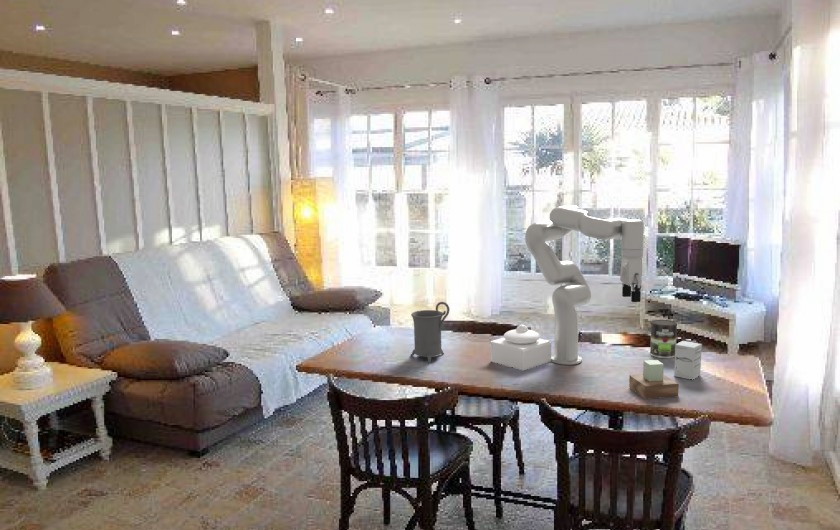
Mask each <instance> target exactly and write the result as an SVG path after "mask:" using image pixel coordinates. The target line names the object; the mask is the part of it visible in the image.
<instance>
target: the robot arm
mask: <svg viewBox="0 0 840 530" xmlns="http://www.w3.org/2000/svg"><path fill="white" fill-rule="evenodd" d="M644 225H645V224H644V222H643V220H641V219H633V218H632V219H627V218H623V217H615V218H613V217H611V218H605V219H603V218H599V217H598V218H597V217H593V216H592V214H591V212H589V211H588V210H583V209H581V208H580V207H579V206H577V205H574V204H573V205H572V204H571V205H568V204H567V205H560V206H556V207H554V208H553V209H552V210H551V211H550V213H549V220H542V221H536V222H533V223H531V224H530V225H529V226H528V227H527V228H526V231H525V233H524V234H525V235H524V236H525V237H524V240H525V245H526V247H527V249H528V251H529V253H530V254H531V255H532V257H533V258H534V260H535V262H536V264H537V267H539V270H540V272H541V274H542V275H543V277H544V279H545V281H546V282H547V284H549V285H550V286H558V287H557V288H555V289H554V291H553V293H552V296H551V300H552V306H553V311H554V312H553V314H554V315H553V316H554V317H553V318H554V347H553V348H554V349H553V350H554V352H553V353H554V354H553V355H551V362H552V363H555V364H558V365H562V366H569V365H570V366H573V365H579V364H580V363H582V362H583V359H582V356H579V315H578V314H577V311H576V308H577V307H581V306H585V305H587V304H588V303H589V302H590V300H592V299H591V298H592V292H591V291H592V290H591V289H590V286H589V285H588V283H587V280H586V278H585V277H584V275H583V273H582V272H581V269H580V268H579V267H578V266H577V264H576V263H575V262H574V261H570V260H560V259H559V258H558V256H557V255H556V253H555V251H554V249H553V248H552V247H551V246H550V245H549V244H547V242H549V241H550V242H551V241H552V242H553V241H558V240H561V239H562V238H564V237H565V236H566V235H567V234H569V233H570V232H571V231H574V232H580V233H581V234H582V235H584V236H586V237H590V238H594V239H597V240H603V241H606V240H612V239H613V240H614V239H621V254H620V255H621V257H620V258H621V263H620V278H619V279H620V282H621V283H622V284H621V285H622V286H621V288H622V293H621V296H622V297H623V298H629V297H631V298H630V300H631V302H632V303H640V302H641V300H642V299H641V296H642V293H641V292H642V282H643V281H642V280H643V277H642V276H643V270H642V268H643V267H642V258H644V234H645V233H644V232H645V231H644V227H645V226H644ZM559 285H560V286H559Z"/></svg>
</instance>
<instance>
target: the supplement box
mask: <svg viewBox="0 0 840 530" xmlns="http://www.w3.org/2000/svg"><path fill="white" fill-rule="evenodd" d="M702 347H703V344H702V343H697V342H691V341H688V340H687V341H686V340H682V341H680V342H678V343H677V342H676V345H675V357H674V370H673V376H674V377H677V378H682V379H685V380H686V379H687V380H690V379H692V380H691V381H694V380H696V379H697V378H699V377H700V376H701V366H702V351H703V350H702V349H703V348H702ZM698 376H699V377H698ZM695 378H696V379H695ZM693 379H694V380H693Z"/></svg>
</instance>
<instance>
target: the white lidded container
mask: <svg viewBox="0 0 840 530" xmlns="http://www.w3.org/2000/svg"><path fill="white" fill-rule="evenodd" d="M489 342H490V343H489V344H490V361H492V362H491V363H494V362H495V363H494V364H497V363H498V365H501V364H502V365H501V366H504V365H505V367H508V366H509V368H511V367H513V368H512V369H515V368H516V370H518V369H519V371H522V370H523V371H522V372H525V371H527V369H528V370H531V369H533V367H534V368H537V367H539V365H540V366H543V365H545V363H546V364H549V363H551V362H552V361H551V356H552V342H551V340H547V339H543V338H541V336H540V333H539V332H538V331H537V332H536V331H535V330H532V329H528V327H527V326H526V325H525V324H519V325H517V326H516V328H515V329H510V330H508V331H506V332H505V333H504V334H503V337H500V338H497V339H494V340H490V341H489ZM548 362H549V363H548ZM542 364H543V365H542ZM536 366H537V367H536ZM530 368H531V369H530ZM524 370H525V371H524Z"/></svg>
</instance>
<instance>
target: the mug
mask: <svg viewBox="0 0 840 530" xmlns="http://www.w3.org/2000/svg"><path fill="white" fill-rule="evenodd" d="M440 305H444V306H445V307H446V309H447V311H446V310H443V312H442V311H440V310H439V306H440ZM449 314H450V306H449V304H448V303H447V302H444V301H439V302H437V304H436V305H435V309H433V310H432V309H423V310H417V311H413V312H411V315H410V316H411V317H412V320H413V332H414V333H413V334H414V335H413V336H414V338H413V339H414V340H413V342H414V349H413V350H412V352H411V354H410V357H411V356H412V357H413V356H414V355H416V356H418V357H426V358H427V361H428V364H431V363H432V357H436V356H437V357H438V356H439V355H442V354H444V355H445V352H444V350H443V348H442V327H443V325H444V324H443V323H444V322H445V321H446V318H447V317H448V315H449Z"/></svg>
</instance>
